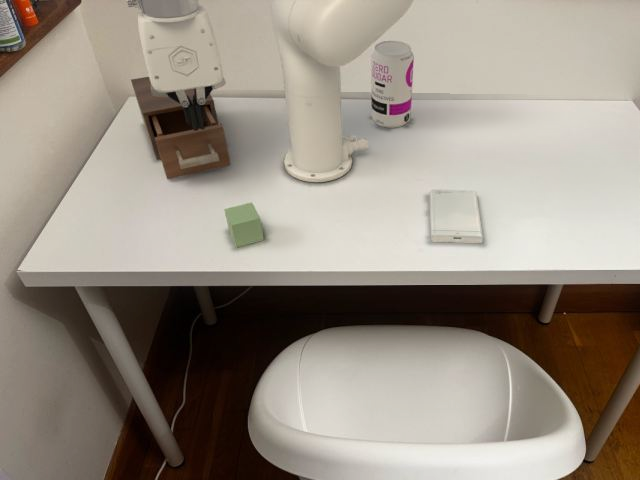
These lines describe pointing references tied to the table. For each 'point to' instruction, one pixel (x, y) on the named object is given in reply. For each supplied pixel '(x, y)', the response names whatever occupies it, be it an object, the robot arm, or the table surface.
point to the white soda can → (391, 83)
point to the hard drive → (455, 216)
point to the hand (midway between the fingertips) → (198, 125)
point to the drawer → (189, 144)
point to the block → (244, 224)
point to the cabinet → (160, 106)
